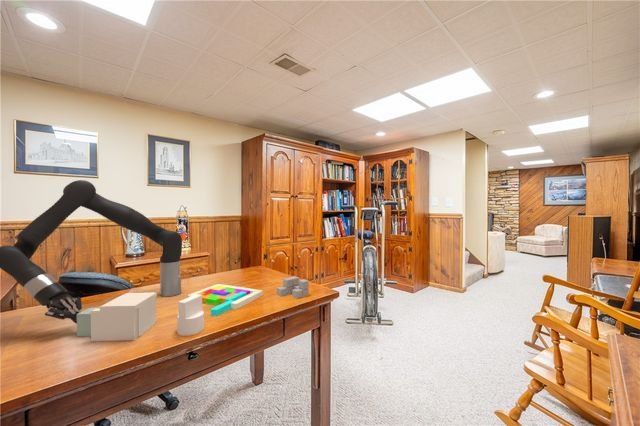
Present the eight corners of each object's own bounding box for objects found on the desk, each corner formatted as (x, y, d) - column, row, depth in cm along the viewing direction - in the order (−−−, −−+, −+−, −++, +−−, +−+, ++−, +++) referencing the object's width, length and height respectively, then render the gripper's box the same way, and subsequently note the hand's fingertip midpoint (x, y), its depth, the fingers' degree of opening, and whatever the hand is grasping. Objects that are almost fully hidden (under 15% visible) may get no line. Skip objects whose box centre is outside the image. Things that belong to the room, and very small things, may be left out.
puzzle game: (218, 288, 150) (170, 307, 123) (218, 283, 150) (170, 301, 123) (263, 296, 139) (221, 318, 111) (263, 290, 139) (221, 311, 111)
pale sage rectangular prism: (76, 336, 94) (76, 314, 94) (90, 328, 100) (90, 307, 100) (112, 335, 95) (112, 313, 95) (123, 327, 101) (123, 307, 101)
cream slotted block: (91, 341, 91) (90, 306, 90) (118, 323, 105) (118, 293, 104) (135, 340, 92) (135, 305, 92) (157, 322, 106) (156, 292, 106)
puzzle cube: (276, 295, 140) (276, 280, 140) (294, 290, 148) (294, 276, 148) (290, 301, 131) (290, 285, 131) (308, 295, 139) (308, 280, 139)
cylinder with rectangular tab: (190, 323, 105) (190, 293, 105) (209, 326, 103) (209, 295, 103) (171, 333, 97) (171, 301, 96) (191, 337, 94) (191, 303, 94)
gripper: (35, 287, 89) (74, 322, 91) (69, 277, 102) (103, 307, 104) (18, 303, 89) (58, 338, 90) (54, 290, 102) (89, 321, 103)
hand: (82, 322), depth 97 cm, fingers closed
